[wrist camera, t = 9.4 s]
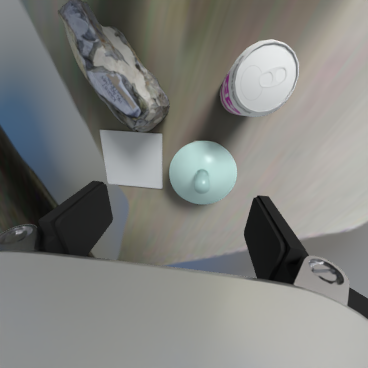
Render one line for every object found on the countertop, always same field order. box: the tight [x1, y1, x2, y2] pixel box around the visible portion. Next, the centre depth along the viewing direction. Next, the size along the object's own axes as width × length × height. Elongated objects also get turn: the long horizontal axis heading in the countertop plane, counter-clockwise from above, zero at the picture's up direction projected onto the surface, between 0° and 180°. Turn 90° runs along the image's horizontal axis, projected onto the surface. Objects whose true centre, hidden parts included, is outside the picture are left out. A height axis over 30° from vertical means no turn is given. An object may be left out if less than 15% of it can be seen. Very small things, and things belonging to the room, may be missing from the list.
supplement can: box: [220, 39, 299, 117], centre depth 26 cm, size 8×8×15 cm
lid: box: [169, 141, 237, 204], centre depth 32 cm, size 14×14×6 cm
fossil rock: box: [58, 0, 170, 133], centre depth 29 cm, size 20×10×15 cm, turn 31°
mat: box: [100, 130, 163, 189], centre depth 41 cm, size 14×15×1 cm
